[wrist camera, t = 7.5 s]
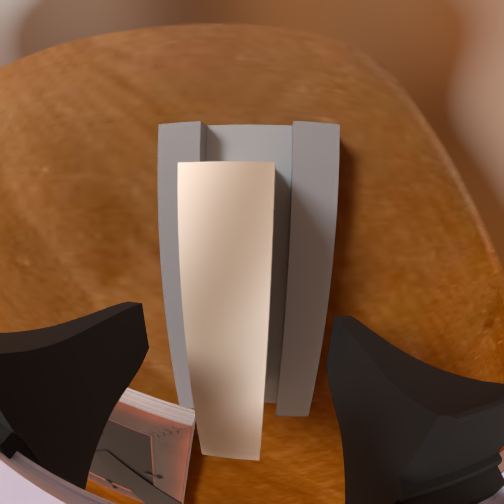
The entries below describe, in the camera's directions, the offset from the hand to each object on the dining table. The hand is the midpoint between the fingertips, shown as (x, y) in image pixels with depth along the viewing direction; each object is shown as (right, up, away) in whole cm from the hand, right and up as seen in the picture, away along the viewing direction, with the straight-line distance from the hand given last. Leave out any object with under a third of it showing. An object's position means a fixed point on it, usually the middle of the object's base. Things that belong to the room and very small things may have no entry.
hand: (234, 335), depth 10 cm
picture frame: (-14, -16, +12) cm, 24 cm away
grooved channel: (0, +1, +5) cm, 5 cm away
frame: (0, +1, +4) cm, 5 cm away
